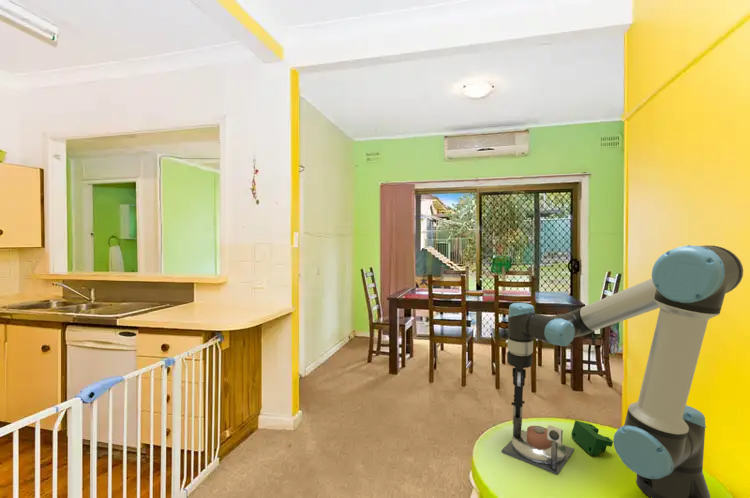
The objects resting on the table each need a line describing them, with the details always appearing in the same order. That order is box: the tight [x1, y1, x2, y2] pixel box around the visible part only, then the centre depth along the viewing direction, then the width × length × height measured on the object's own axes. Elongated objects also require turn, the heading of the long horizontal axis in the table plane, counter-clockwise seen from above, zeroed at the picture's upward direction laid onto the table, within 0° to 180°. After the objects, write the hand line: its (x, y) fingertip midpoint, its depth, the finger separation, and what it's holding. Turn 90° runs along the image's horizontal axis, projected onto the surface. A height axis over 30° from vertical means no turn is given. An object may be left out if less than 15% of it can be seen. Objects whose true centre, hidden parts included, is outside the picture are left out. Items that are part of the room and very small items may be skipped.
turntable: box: [511, 416, 566, 464], centre depth 118 cm, size 15×15×8 cm
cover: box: [526, 425, 551, 449], centre depth 119 cm, size 7×7×4 cm
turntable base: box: [501, 424, 575, 476], centre depth 118 cm, size 16×16×12 cm
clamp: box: [571, 420, 614, 457], centre depth 121 cm, size 12×6×9 cm, turn 177°
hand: (517, 423), depth 125 cm, fingers closed
